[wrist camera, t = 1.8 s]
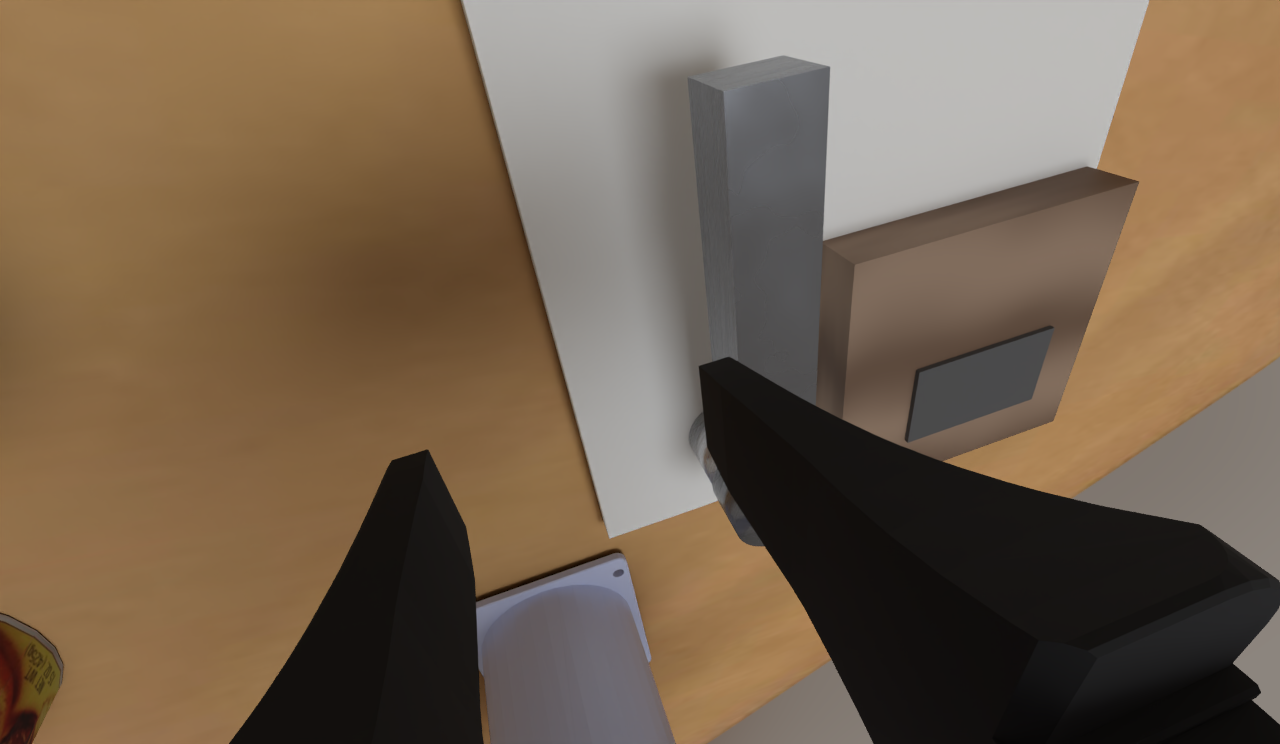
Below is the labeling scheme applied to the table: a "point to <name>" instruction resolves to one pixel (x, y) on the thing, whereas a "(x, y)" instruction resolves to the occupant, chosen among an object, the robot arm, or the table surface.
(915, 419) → the pad
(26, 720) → the canned food
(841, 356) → the door slab
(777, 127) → the bar
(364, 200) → the table surface
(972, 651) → the robot arm
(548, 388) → the table surface
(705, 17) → the plate
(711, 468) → the post
